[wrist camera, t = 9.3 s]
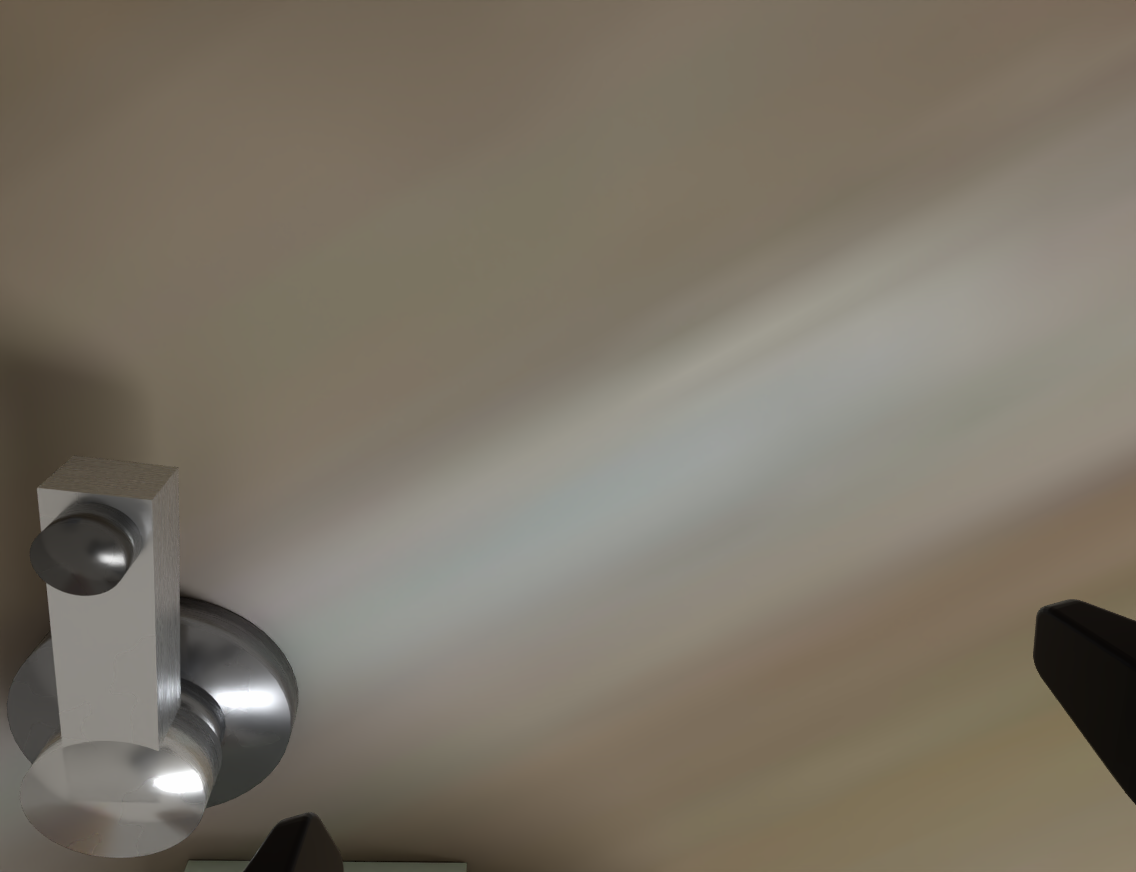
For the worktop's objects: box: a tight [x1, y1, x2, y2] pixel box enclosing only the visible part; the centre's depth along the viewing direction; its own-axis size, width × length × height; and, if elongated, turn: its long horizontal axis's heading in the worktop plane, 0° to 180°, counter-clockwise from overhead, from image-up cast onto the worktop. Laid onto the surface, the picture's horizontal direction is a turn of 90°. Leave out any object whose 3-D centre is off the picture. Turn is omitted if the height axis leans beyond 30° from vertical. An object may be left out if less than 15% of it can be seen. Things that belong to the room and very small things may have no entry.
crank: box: [20, 455, 222, 858], centre depth 16 cm, size 10×4×2 cm, turn 168°
